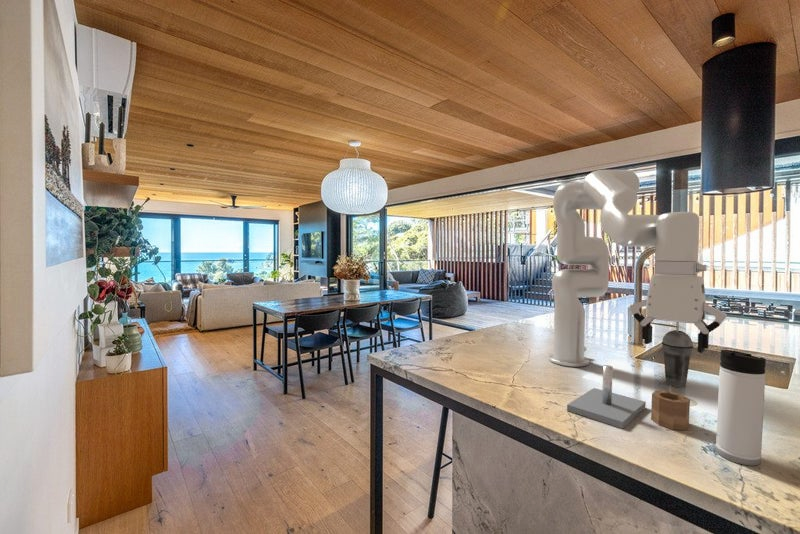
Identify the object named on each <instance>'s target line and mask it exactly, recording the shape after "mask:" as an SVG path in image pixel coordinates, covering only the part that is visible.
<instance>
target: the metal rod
mask: <svg viewBox="0 0 800 534" xmlns="http://www.w3.org/2000/svg"><path fill="white" fill-rule="evenodd" d="M613 367H614V366H613V365H610V364H603V365H602V389H601V390H602V403H603V404H606V405H611V404H612V393H613V371H614V370H613V369H614V368H613Z"/></svg>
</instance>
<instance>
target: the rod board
mask: <svg viewBox="0 0 800 534" xmlns="http://www.w3.org/2000/svg"><path fill="white" fill-rule="evenodd" d="M646 404H647V403H646V401H645V400H641V399H637V398H633V397H629V396H625V395H622V394H619V393H615V392H612V404H611V405H606V404H603V403H602V389H600V388H596V387H593V388H591V389H590V390H589V391H586V392H585V393H584V394H582V395H581V396H578V397H577V398H576V399H574V400H572V401H571V402H569V403H567V405H566V410H567V412H569V411H571V412H570V413H572V412H573V414H575V413H577V414H576V415H578V414H579V415H578V416H582V415H583V416H582V417H585V416H586V418H588V419H591V420H595V421H597V422H600V423H603V422H604V423H603V424H606V423H607V424H606V425H609V424H610V425H609V426H613V427H616V428H619V429H622V430H623V429H624V428H626V426H627V425H629V424H630V423H631V422H632V421H633V420H634V419H635V418H637V416H639V414H640V413H641V412H643V411H644V410H645V409H646V408H645V407H646ZM644 408H645V409H644ZM643 409H644V410H643ZM632 419H633V420H632Z"/></svg>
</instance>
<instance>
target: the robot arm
mask: <svg viewBox="0 0 800 534" xmlns="http://www.w3.org/2000/svg"><path fill="white" fill-rule="evenodd" d="M640 184H641V183H640V179H639V176H638V175H637V174H636V173H635V172H634V171H631V170H628V169H598V170H594V171H591V172H590V173H588V174H587V176H586V177H585V178H584V180H583V182H568V183H563V184H562V185H560V186H559V187H557V189H556V191H555V193H554V195H553V201H552V203H553V204H552V206H553V211H554V215H555V216H554V217H555V218H556V219H555V220H556V225H557V226H556V227H557V228H556V229H557V230H556V233H557V234H556V251H557V253H556V254H557V259H558V262H559V263H561V264H562V265H567V266H587V268H584V269H583V268H567V269H560V270H558V271H556V272H555V273H554V274H553V276H552V279H551V285H552V290H553V291H552V292H553V293H552V294H553V302H554V312H553V313H554V314H553V315H554V316H553V317H554V319H553V320H554V321H553V322H554V323H553V328H554V330H553V334H554V335H553V353H551V354H549V355H548V360H549V361H550V362H552V363H554V364H557V365H559V366H564V367H574V368H578V367H585V366H588V365H590V360H589V359H588V358H587V356H585V352H587V348H586V346H585V341H586V340H585V337H586V335H585V334H586V333H585V332H586V330H585V329H586V310H585V307H584V305H583V304H582V302H581V301H580V299H579V298H599V297H602V296H604V295H605V294H606V293H607V291H608V288H609V281H610V280H609V278H610V277H609V276H610V274H609V273H610V272H609V271H610V269H609V267H610V266H609V265H610V250H609V247H608V244H607V242H606V241H605V240H604V239H603V238H600V237H599V236H597V237H596V236H586V224H585V220H584V218H583V217H582V216H581V214H580V213H579V212H578V211H577V210H598V211H599V210H601V211H600V216H599V217H600V226H601V229H602V230H603V233H605V234H606V235H607V236H608V237H609V238H610V239H611V240H612V241H613V242H614V243H616V244H617V245H619V246H622V247H629V248H631V247H646V248H648V247H649V248H651V247H653V248H655V259H654V260H655V261H654V274H652V275H651V276H650V279H649V280H650V281H649V284H648V290H647V295H646V299H644V300H642V301H638V302H636V303H632V304H630V305H629V310H630V312H631V313H632V315H633V317H634V319H635V320H637V322H638V323H639V325H640V327H642V328H641V339H642V340H643V341H644V342H643V343H644V344H645V345H648V344H651V343H652V342H653V325H652V322H654V320H657V321H658V320H659V321H667V322H679V323H683V324H693V325H694V326H695V327H696V328H697V329H698V330H699V333H698V334H697V352H698V353H700V354H703V352H705V350H708V349H709V340H710V333H711V332H713V331H714V330H716V329H717V328H719V327H720V326H721V325H722V324H723V322H724V321H725V320H726V318H727V316H728V315H727V313H725V312H724V311H721V310H719V309H717V308H715V307H713V306H711V305H709V304H708V303H706V289H705V284H704V283H705V281H704V277H703V276H699V275H698V274H699V273H701V272H707V269H708V265H707V264H702V263H701V262H699V243H700V241H699V240H700V217H699V215H698V214H697V213H696V212H691V211H674V212H666V213H665V212H664V213H662V214H629V213H630V212H631V211H633V209H634V208H635V207H636V205H637V202H638V195H637V194H638V191H639V190H640V186H641V185H640ZM643 307H645V312H646V316H644V315H643V313H641V312H640V308H643ZM707 313H708V314H710V315H712V316H714V320H713V322H711V323H709V324H707V323H706V322H705V319H706V314H707Z"/></svg>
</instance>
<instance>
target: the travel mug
mask: <svg viewBox="0 0 800 534" xmlns="http://www.w3.org/2000/svg"><path fill="white" fill-rule="evenodd" d="M766 363H767V359H766V358H765V357H758V356H755V355H752V354H751V353H746V352H742V351H738V350H737V351H736V350H731V349H729V350H728V349H721V350H720V363H719V371H718V372H719V375H718V395H717V412H716V413H717V416H716V417H717V418H716V436H715V437H716V438H715V451H716V453H717V454H718V455H719V456H720V457H722V458H724V459H726V460H728V461H729V462H733V463H736V464H740V465H742V466H743V465H744V466H749V467H750V466H751V467H752V466H753V467H754V466H758V465H760V464H761V461H762V449H763V448H762V446H763V427H764V425H763V424H764V412H765V411H764V408H765V406H764V405H765V393H766V392H765V389H766V373H767V372H766V365H767V364H766Z"/></svg>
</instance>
